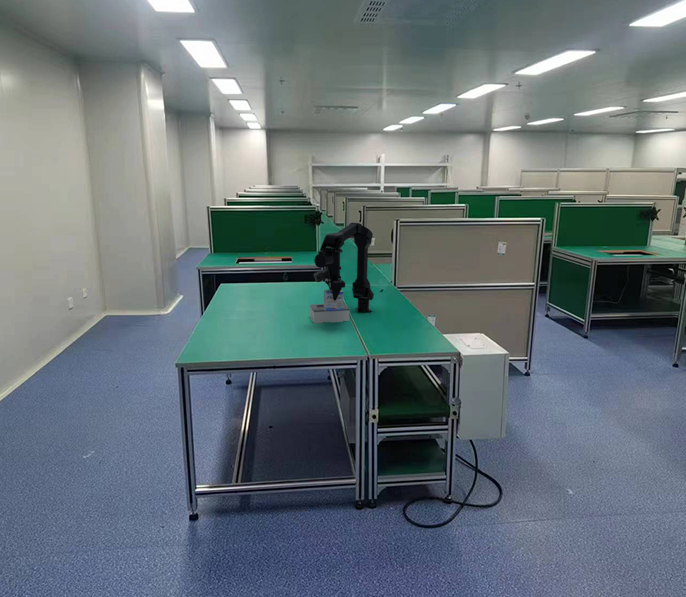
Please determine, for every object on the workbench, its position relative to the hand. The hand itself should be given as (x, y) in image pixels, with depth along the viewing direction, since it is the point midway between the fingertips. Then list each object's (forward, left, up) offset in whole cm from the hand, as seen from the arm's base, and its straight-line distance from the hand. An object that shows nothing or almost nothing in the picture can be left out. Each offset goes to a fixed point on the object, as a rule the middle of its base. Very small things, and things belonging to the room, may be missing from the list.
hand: (333, 299), depth 210 cm
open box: (-8, 0, -12) cm, 14 cm away
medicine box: (0, 0, -5) cm, 5 cm away
